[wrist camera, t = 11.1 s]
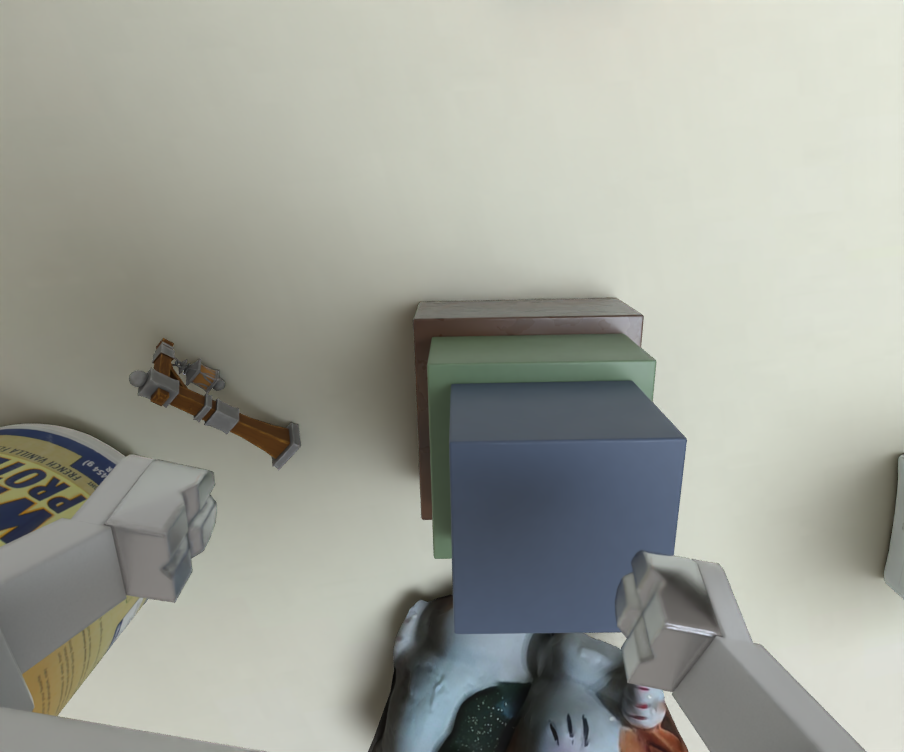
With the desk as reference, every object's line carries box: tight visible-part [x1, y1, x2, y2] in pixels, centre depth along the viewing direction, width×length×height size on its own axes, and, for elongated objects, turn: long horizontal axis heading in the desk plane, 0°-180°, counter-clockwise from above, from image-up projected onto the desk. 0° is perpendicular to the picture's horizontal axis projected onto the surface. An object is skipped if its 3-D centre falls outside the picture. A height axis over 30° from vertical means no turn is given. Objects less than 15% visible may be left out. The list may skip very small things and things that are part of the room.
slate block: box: [449, 381, 687, 634], centre depth 19 cm, size 6×6×5 cm
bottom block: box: [413, 298, 644, 520], centre depth 27 cm, size 10×10×4 cm
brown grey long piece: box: [129, 338, 301, 470], centre depth 27 cm, size 2×8×4 cm, turn 47°
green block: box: [427, 334, 656, 559], centre depth 23 cm, size 8×8×4 cm
